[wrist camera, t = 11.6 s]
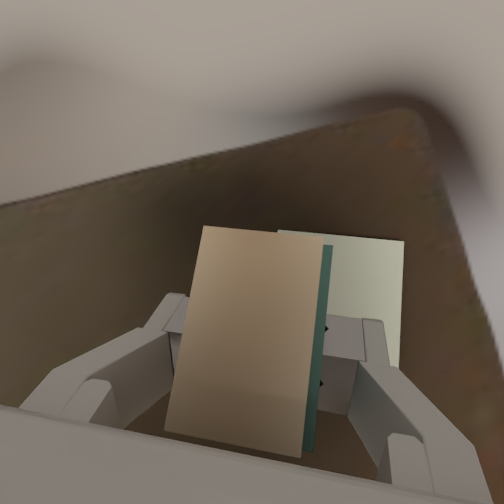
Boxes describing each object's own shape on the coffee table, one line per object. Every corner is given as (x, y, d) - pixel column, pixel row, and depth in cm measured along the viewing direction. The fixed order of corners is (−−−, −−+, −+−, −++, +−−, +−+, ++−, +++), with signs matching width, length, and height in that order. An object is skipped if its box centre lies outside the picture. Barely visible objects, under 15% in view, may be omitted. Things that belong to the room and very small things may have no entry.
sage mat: (396, 373, 33) (398, 373, 32) (261, 352, 35) (261, 352, 34) (402, 243, 36) (403, 241, 35) (278, 231, 38) (277, 229, 37)
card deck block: (320, 299, 14) (334, 238, 7) (309, 408, 13) (312, 460, 6) (253, 290, 15) (203, 225, 8) (237, 395, 14) (163, 430, 7)
